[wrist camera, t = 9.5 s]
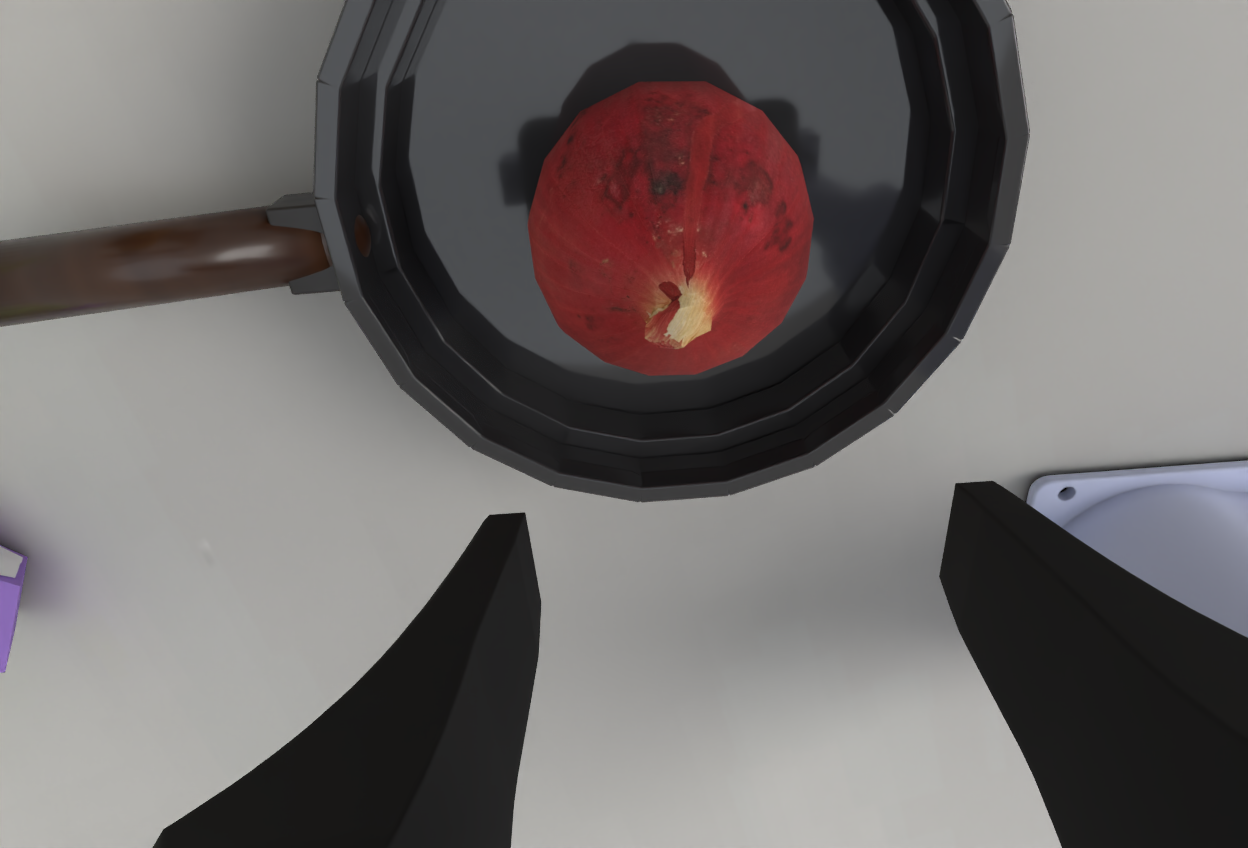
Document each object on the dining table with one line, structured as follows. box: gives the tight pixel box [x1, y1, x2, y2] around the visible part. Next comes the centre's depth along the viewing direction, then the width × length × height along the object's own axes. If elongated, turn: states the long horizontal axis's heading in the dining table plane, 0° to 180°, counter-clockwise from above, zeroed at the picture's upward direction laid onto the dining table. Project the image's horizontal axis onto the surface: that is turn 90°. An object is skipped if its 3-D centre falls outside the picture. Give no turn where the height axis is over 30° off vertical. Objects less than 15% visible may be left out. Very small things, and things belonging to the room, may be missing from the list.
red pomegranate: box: [528, 81, 814, 376], centre depth 16 cm, size 6×6×8 cm
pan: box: [313, 0, 1030, 502], centre depth 18 cm, size 15×15×3 cm
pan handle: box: [0, 193, 371, 327], centre depth 18 cm, size 10×2×3 cm, turn 95°
